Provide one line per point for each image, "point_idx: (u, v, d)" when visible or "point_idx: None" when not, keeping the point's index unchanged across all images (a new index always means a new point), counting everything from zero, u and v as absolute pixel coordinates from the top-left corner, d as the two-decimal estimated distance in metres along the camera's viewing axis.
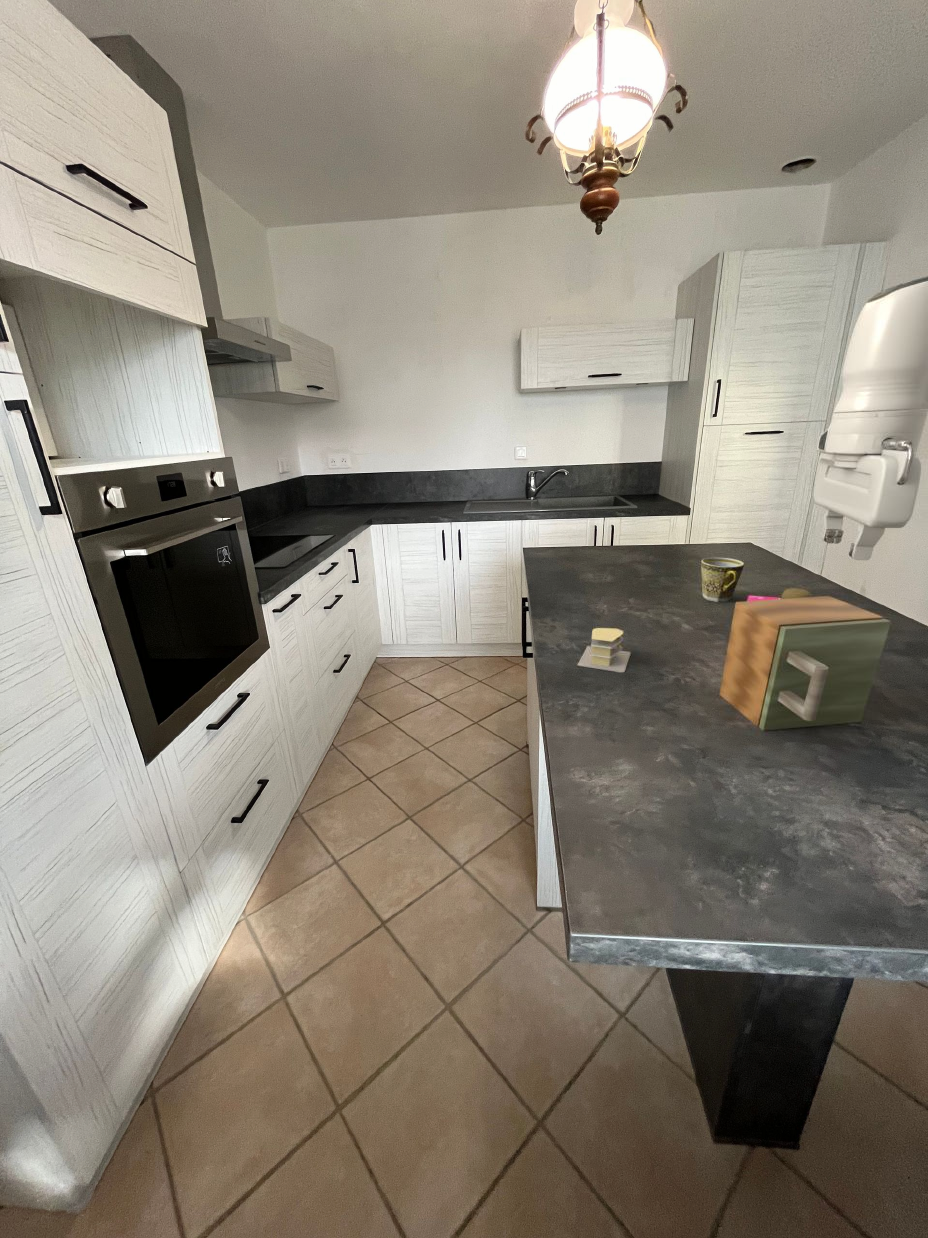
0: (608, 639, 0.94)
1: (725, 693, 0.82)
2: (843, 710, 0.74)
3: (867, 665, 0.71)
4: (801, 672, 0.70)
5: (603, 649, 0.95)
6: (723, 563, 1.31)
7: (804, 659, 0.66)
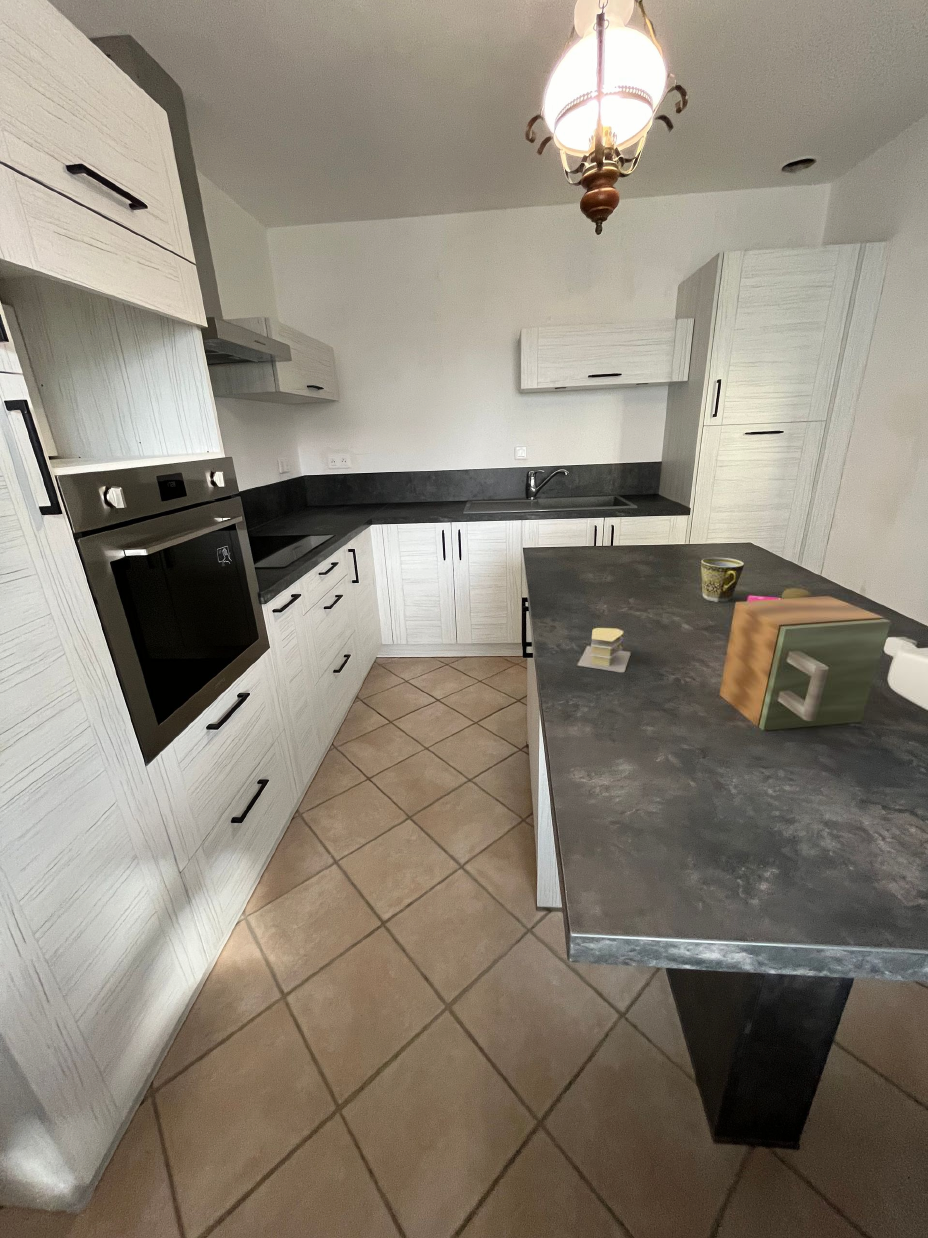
0: (608, 639, 0.94)
1: (725, 693, 0.82)
2: (843, 710, 0.74)
3: (867, 665, 0.71)
4: (801, 672, 0.70)
5: (603, 649, 0.95)
6: (723, 563, 1.31)
7: (804, 659, 0.66)
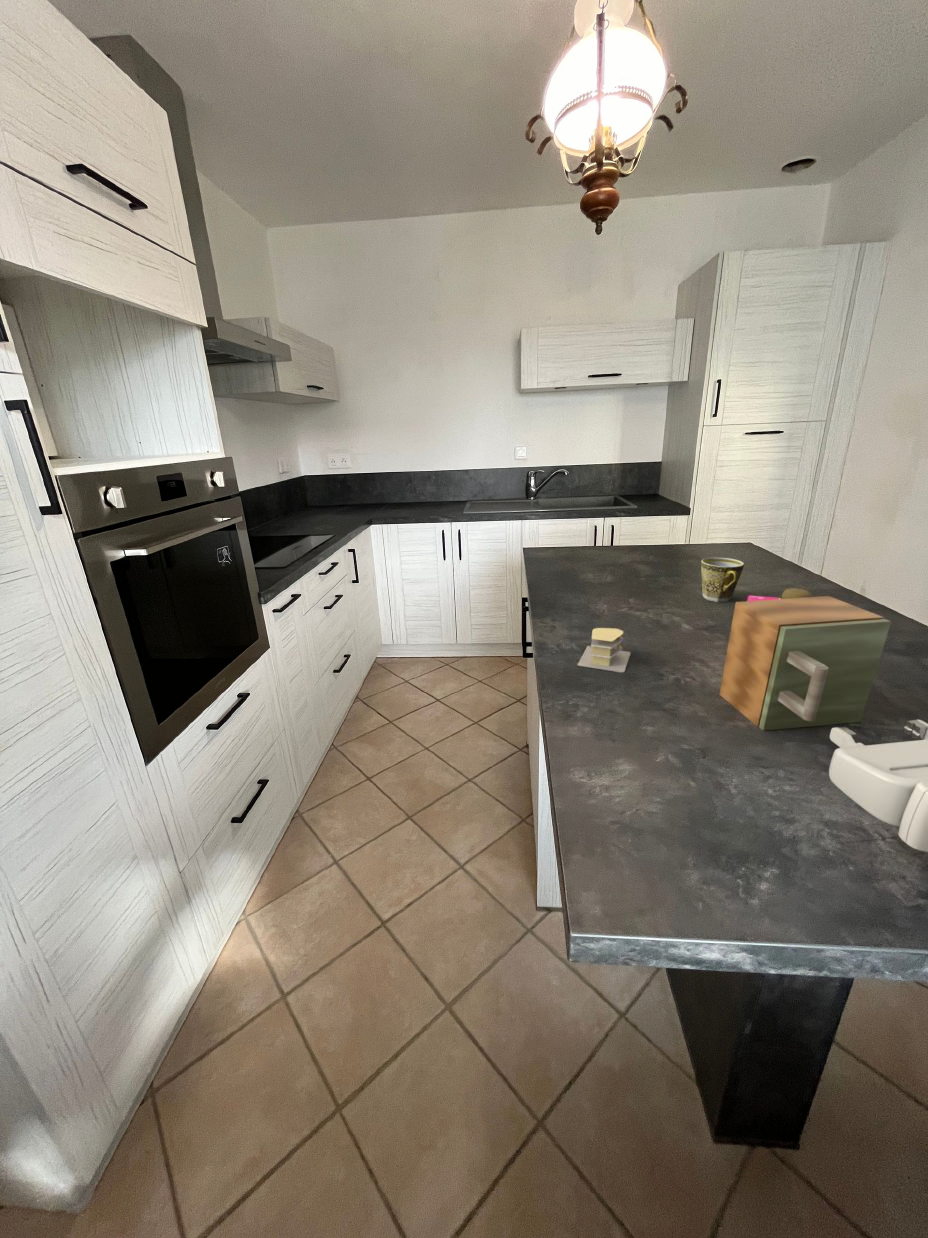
0: (608, 639, 0.94)
1: (725, 693, 0.82)
2: (843, 710, 0.74)
3: (867, 665, 0.71)
4: (801, 672, 0.70)
5: (603, 649, 0.95)
6: (723, 563, 1.31)
7: (804, 659, 0.66)
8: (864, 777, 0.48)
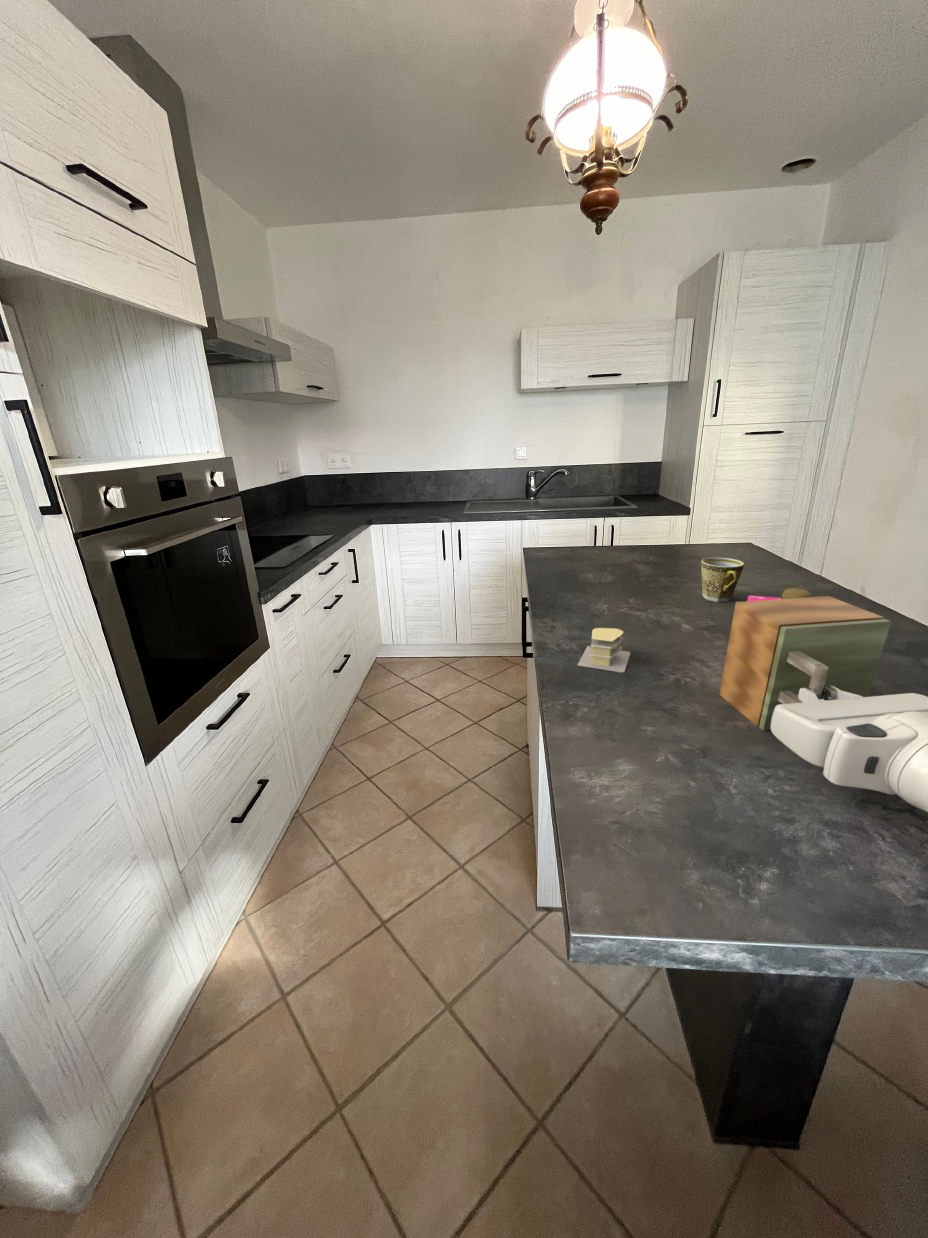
0: (608, 639, 0.94)
1: (725, 693, 0.82)
2: None
3: (867, 665, 0.71)
4: (801, 672, 0.70)
5: (603, 649, 0.95)
6: (723, 563, 1.31)
7: (804, 659, 0.66)
8: (796, 726, 0.56)
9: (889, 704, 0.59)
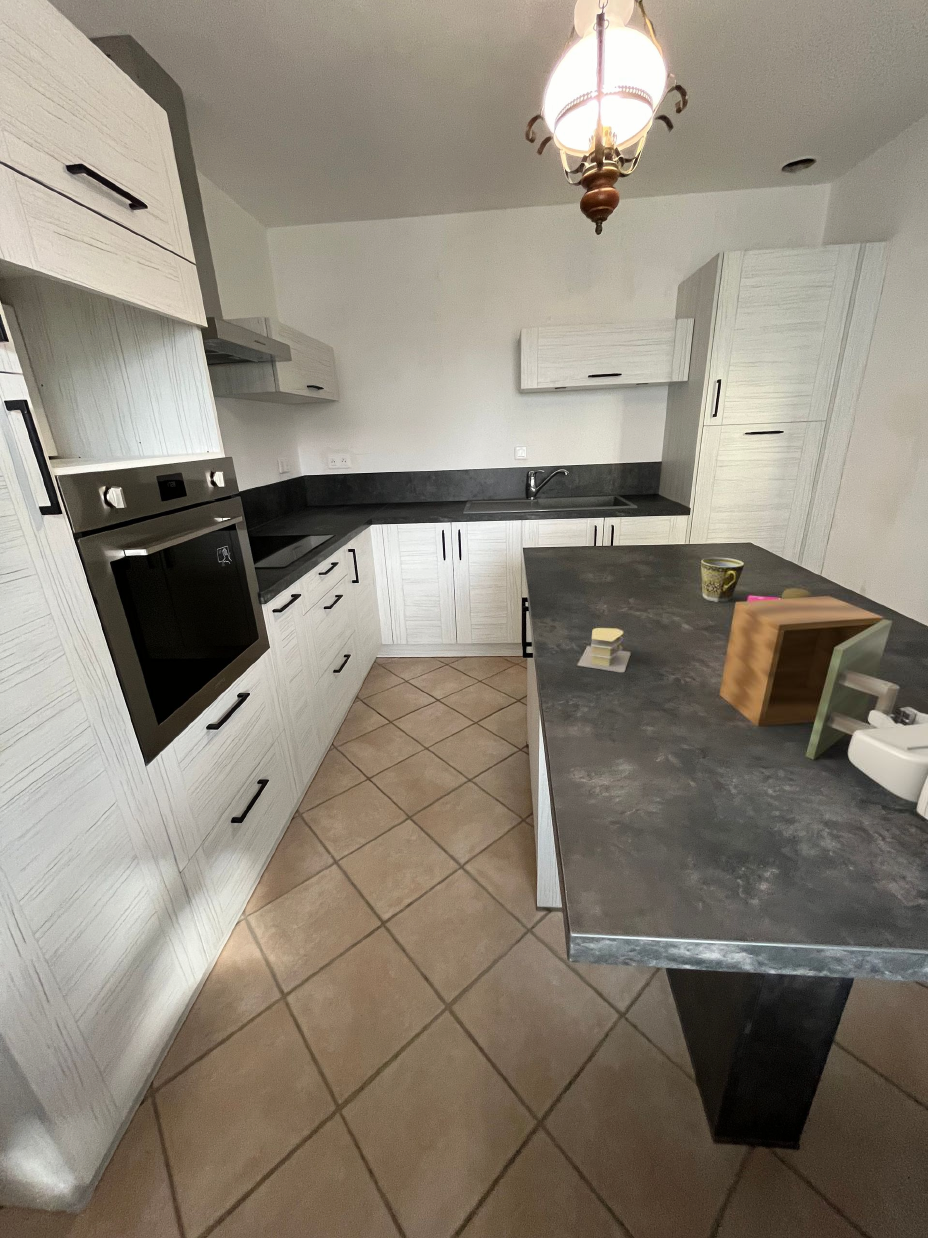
0: (608, 639, 0.94)
1: (725, 693, 0.82)
2: (856, 715, 0.72)
3: (874, 667, 0.71)
4: (843, 690, 0.65)
5: (603, 649, 0.95)
6: (723, 563, 1.31)
7: (867, 680, 0.61)
8: (884, 756, 0.51)
9: None
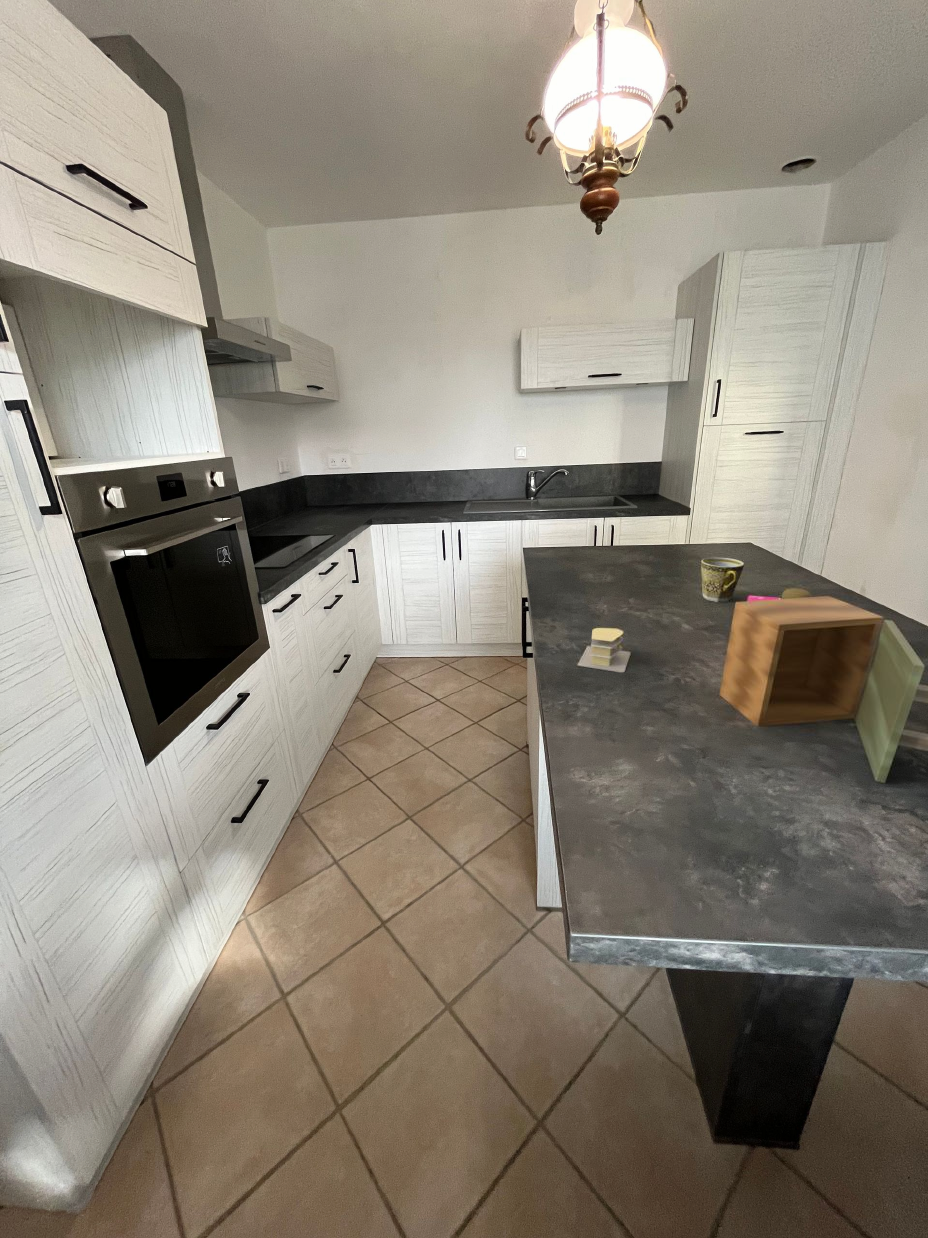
0: (608, 639, 0.94)
1: (725, 693, 0.82)
2: None
3: None
4: None
5: (603, 649, 0.95)
6: (723, 563, 1.31)
7: None
8: None
9: None
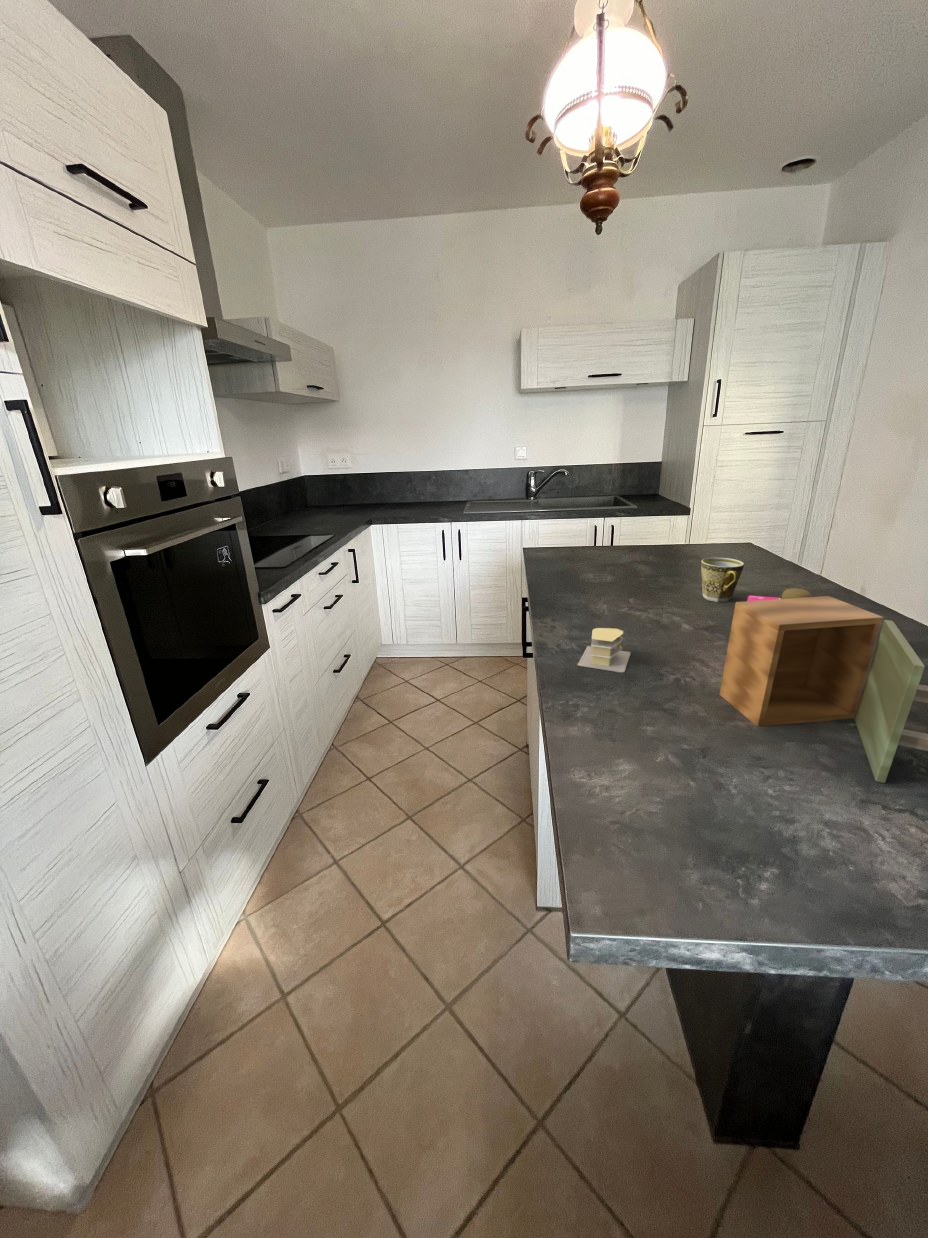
0: (608, 639, 0.94)
1: (725, 693, 0.82)
2: None
3: None
4: None
5: (603, 649, 0.95)
6: (723, 563, 1.31)
7: None
8: None
9: None
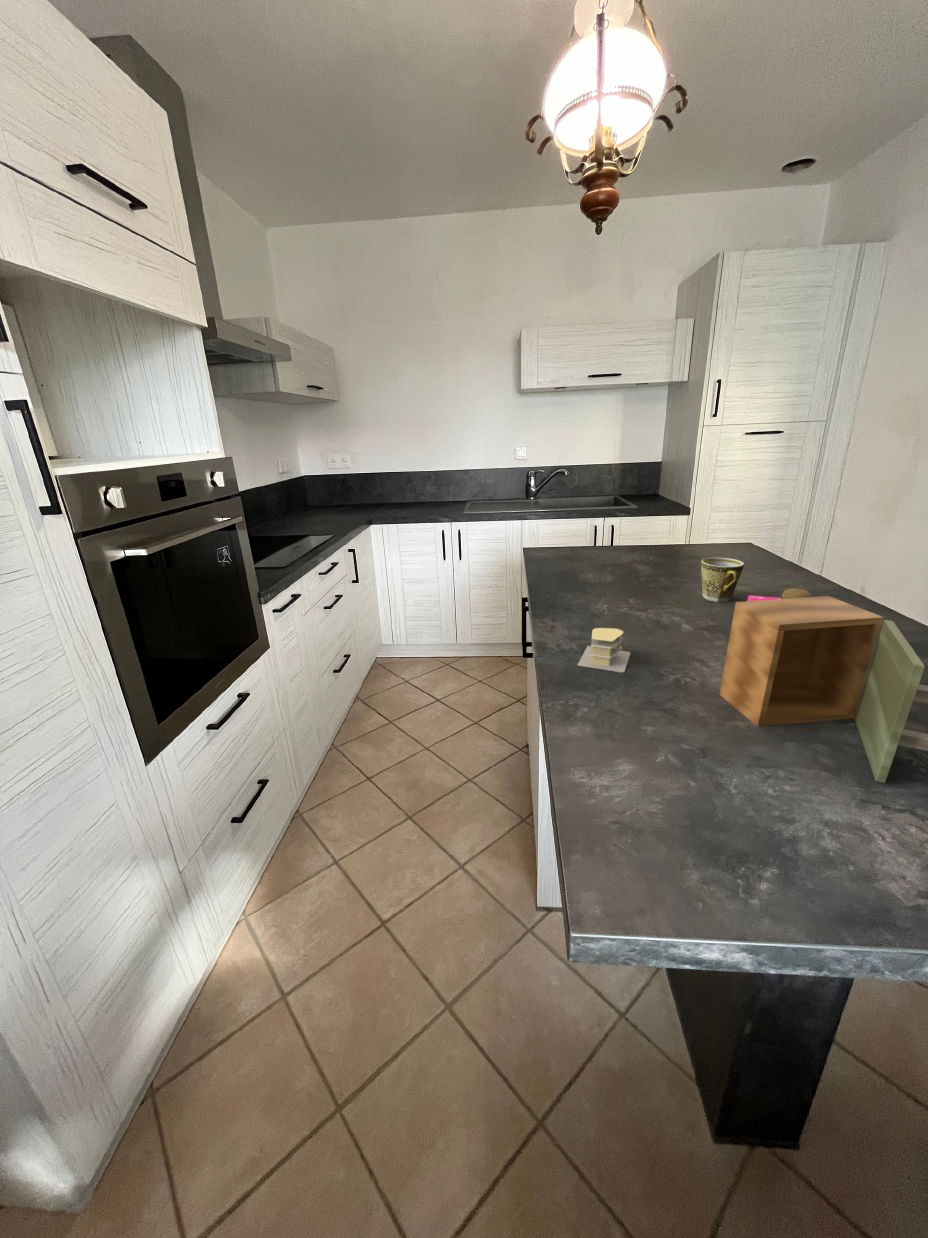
0: (608, 639, 0.94)
1: (725, 693, 0.82)
2: None
3: None
4: None
5: (603, 649, 0.95)
6: (723, 563, 1.31)
7: None
8: None
9: None
